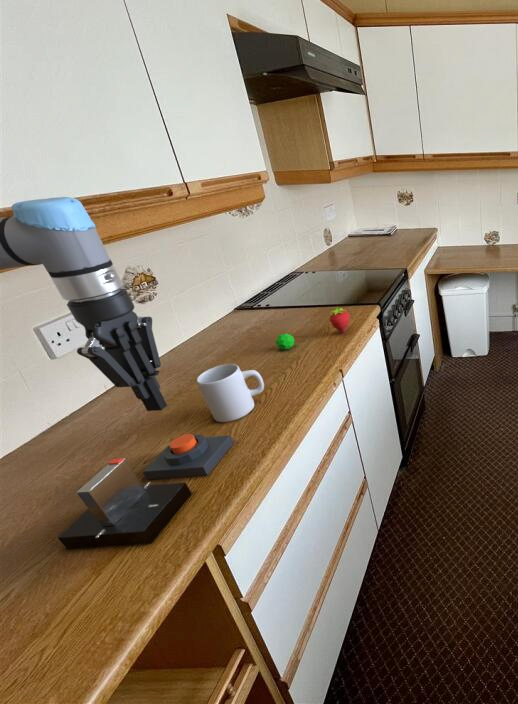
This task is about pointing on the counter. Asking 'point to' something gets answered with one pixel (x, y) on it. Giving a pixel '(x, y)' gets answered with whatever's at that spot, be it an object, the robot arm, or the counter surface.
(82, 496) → the grey metallic block
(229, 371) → the mug
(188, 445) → the button
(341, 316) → the strawberry
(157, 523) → the panel
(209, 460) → the button box
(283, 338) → the polyhedron
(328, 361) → the counter surface
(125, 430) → the counter surface
